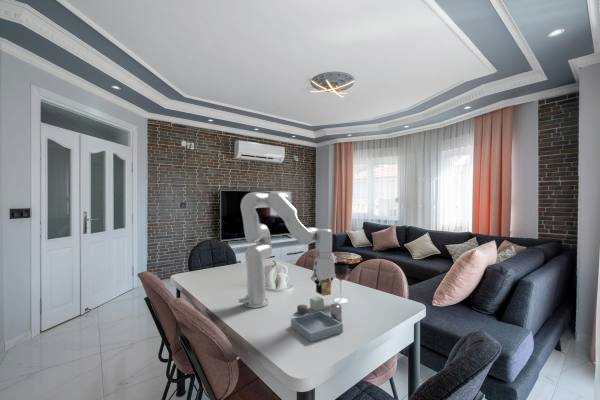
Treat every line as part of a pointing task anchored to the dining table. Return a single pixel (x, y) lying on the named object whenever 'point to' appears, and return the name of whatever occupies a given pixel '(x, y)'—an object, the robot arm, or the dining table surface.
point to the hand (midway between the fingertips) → (323, 291)
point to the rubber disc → (302, 309)
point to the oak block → (325, 287)
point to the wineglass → (341, 278)
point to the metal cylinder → (336, 312)
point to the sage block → (316, 303)
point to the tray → (316, 326)
